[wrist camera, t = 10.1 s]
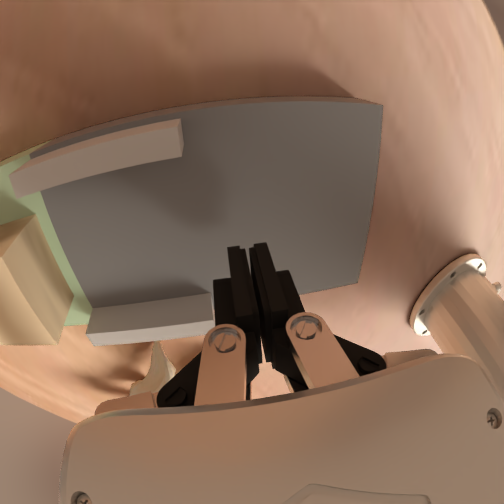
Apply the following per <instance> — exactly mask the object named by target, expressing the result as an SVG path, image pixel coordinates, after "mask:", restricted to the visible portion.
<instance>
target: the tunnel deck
mask: <svg viewBox="0 0 504 504" xmlns="http://www.w3.org/2000/svg"><path fill="white" fill-rule="evenodd" d="M382 115H383V105H380V104H377V103H373V102H369V101H366V100H362V99H358V98H349V97H329V96H276V97H256V98H242V99H231V100H221V101H212V102H204V103H197V104H190V105H184V106H178V107H172V108H166V109H161V110H156V111H151V112H146V113H142V114H137V115H133V116H129V117H125V118H121V119H117V120H113V121H109V122H106V123H102V124H98V125H95V126H92V127H88V128H85V129H82V130H79V131H76V132H73V133H70V134H67V135H64V136H61V137H58V138H56V139H53V140H50V141H47V142H45V143H42V144H40V145H37V146H35V147H32V148H30V149H28V150H25V151H23V152H21V153H18V154H16V155H14V156H12V157H10V158H7V159H5V160H3V161H1V162H0V225H2V224H5V223H8V222H11V221H14V220H17V219H21V218H24V217H27V216H30V215H34V214H36V216H37V218H38V221H39V223H40V226H41V228H42V231H43V233H44V235H45V238H46V240H47V242H48V245H49V247H50V249H51V251H52V253H53V255H54V258H55V260H56V262H57V264H58V266H59V268H60V270H61V272H62V274H63V276H64V278H65V280H66V282H67V284H68V285H69V287H70V289H71V291H72V293H73V295H74V298H73V301H72V303H71V306H70V309H69V312H68V315H67V317H66V320H65V323H64V326H72V325H85V324H88V327H87V331H86V335H87V337H88V338H89V340H90V341H91V343H92V344H93V346H103V345H117V344H129V343H140V342H150V341H160V340H169V339H177V338H185V337H193V336H200V335H206V334H207V332H208V331H209V330H210V329H212V328H213V327H215V315H214V295H213V280H215V279H223V278H231V276H230V268H229V260H228V252H227V247H232V246H240V249H243V248H245V250H246V255H247V260H248V264H249V269H250V256H249V248H251V247H253V244H256V243H263V242H266V243H267V245H268V248H269V251H270V254H271V257H272V260H273V263H274V266H275V269H276V271H282V270H289V272H290V274H291V276H292V279H293V281H294V284H295V287H296V289H297V292H298V294H299V295H302V294H307V293H312V292H317V291H322V290H327V289H331V288H336V287H341V286H346V285H350V284H355V283H358V279H359V275H360V270H361V266H362V261H363V256H364V251H365V246H366V241H367V236H368V231H369V225H370V219H371V213H372V207H373V201H374V194H375V187H376V179H377V171H378V162H379V153H380V142H381V130H382ZM250 274H251V269H250Z"/></svg>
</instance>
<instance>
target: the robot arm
mask: <svg viewBox="0 0 504 504" xmlns="http://www.w3.org/2000/svg"><path fill="white" fill-rule="evenodd" d="M227 252H228V260H229V268H230V276H231V278H223V279H215V280H213V295H214V313H215V327H213V328H212V329H210V330H209V331H208V332H207V334H206V335H205V338H204V342H203V348H202V352H200V353H199V354H198V355H197V356H196V357H195V358H194V359H193V360H192V361H191V362H190V363H188V364H187V365H186V366H185V367H184V368H183V369H182V370H181V371H180V372H179V373H177V374H176V375H175V376H174V377H173V378H172V379H171V380H170V381H168V382H167V383H166V384H165V385H164V386H163V387H162V388H161V389H160V390H159V392H155V393H152V392H151V391H149V392H145V393H140V394H136V395H132V396H127V397H122V398H117V399H113V400H107V401H105V402H102V403H101V404H100V405H99V406H98V407H97V409H96V411H95V415H94V416H91V417H89V418H87V419H85V420H83V421H81V422H79V423H78V424H77V425H75V427H74V428H73V429H72V430H71V432H70V434H69V436H68V438H67V441H66V444H65V449H64V452H63V458H62V464H61V472H60V482H59V504H504V301H503V300H502V298H501V297H500V296H499V295H498V293H499V291H500V290H501V284H500V283H499V282H495V283H493V284H491V283H490V282H489V281H488V280H487V279H486V277H485V275H486V264H485V262H484V260H483V259H482V258H481V257H480V256H479V255H477V254H467V255H464V256H461V257H460V258H458V259H456V260H454V261H453V262H451V263H450V264H449V265H447V266H446V267H445V268H444V269H443V270H442V271H441V272H440V273H439V274H437V275H436V276H435V277H434V279H433V280H432V281H431V282H430V283H429V284H428V285H427V287H426V288H425V289H424V291H423V292H422V293H421V295H420V297H419V298H418V300H417V301H416V303H415V305H414V307H413V310H412V313H411V316H410V326H411V328H412V329H413V331H414V332H415V333H416V334H417V335H420V336H426V335H430V334H431V335H432V337H433V338H434V340H435V341H436V343H437V344H438V346H439V347H440V349H441V351H442V352H443V354H437V353H436V352H435V351H433V350H431V349H421V350H411V351H401V352H389V353H385V355H382V356H381V355H379V354H378V353H376V352H374V351H371V350H369V349H367V348H364V347H362V346H359V345H357V344H355V343H352V342H350V341H348V340H345V339H343V338H341V337H338V336H336V335H334V334H333V333H332V332H331V330H330V329H329V327H328V326H327V324H326V322H325V321H324V320H323V319H322V318H321V317H320V316H318V315H316V314H313V313H309V312H305V310H304V308H303V305H302V302H301V300H300V297H299V294H298V292H297V289H296V287H295V284H294V281H293V279H292V276H291V274H290V272H289V270H282V271H276V269H275V266H274V263H273V260H272V257H271V254H270V251H269V248H268V245H267V243H266V242H263V243H256V244H253V247H251V248H249V256H250V269H251V274H250V269H249V264H248V260H247V255H246V250H245V248H243V249H240V246H232V247H227ZM261 340H262V344H263V349H264V354H265V359H266V362H271V363H272V368H273V369H275V370H277V371H279V372H280V373H282V374H284V378H285V381H286V383H287V386H288V388H289V390H290V392H291V393H289V394H283V395H278V396H272V397H266V398H260V399H253V400H252V382H251V381H252V380H253V379H254V378H255V377H256V376H257V374H258V373H259V363H262V350H261Z"/></svg>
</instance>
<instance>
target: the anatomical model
mask: <svg viewBox="0 0 504 504" xmlns="http://www.w3.org/2000/svg"><path fill="white" fill-rule="evenodd" d="M175 371H176V369H175V367H174V366H173V364H172V363H171V362H170V361H169V359H168V358H167V356H166V354H165V353H164V351H163V348H162V344H161V340H160V341H154V345H153V348H152V357H151V366H150V369H149V372H148V374H147V375H146V377H145V378H144V379H143V380H138V381H136V382H135V383H133V384H132V386H131V388H130V394H129V396H132V395H136V394H140V393H145V392H149V391H151V392H152V393H155V392H159V390H160V389H161V388H162V387H163V386H164V385H165V384H166V383H167V382H168V381H170V380H171V379H172V378H173V377H174V376H175Z"/></svg>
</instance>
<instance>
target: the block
mask: <svg viewBox="0 0 504 504" xmlns="http://www.w3.org/2000/svg"><path fill="white" fill-rule="evenodd" d="M73 298H74V295H73V293H72V291H71V289H70V287H69V285H68V284H67V282H66V280H65V278H64V276H63V274H62V272H61V270H60V268H59V266H58V264H57V262H56V260H55V258H54V255H53V253H52V251H51V249H50V247H49V245H48V242H47V240H46V238H45V235H44V233H43V231H42V228H41V226H40V223H39V221H38V218H37V216H36V214H34V215H30V216H27V217H24V218H21V219H17V220H14V221H11V222H8V223H5V224H2V225H0V345H58V343H59V339H60V336H61V333H62V330H63V327H64V323H65V320H66V317H67V315H68V312H69V309H70V306H71V303H72V301H73Z"/></svg>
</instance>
